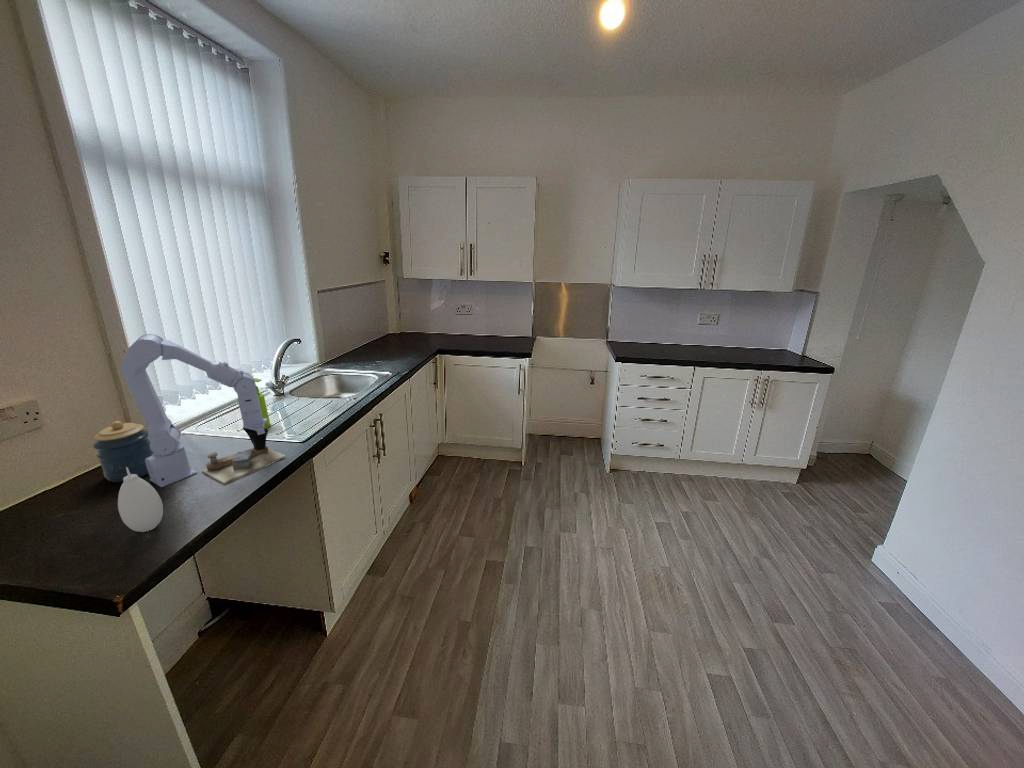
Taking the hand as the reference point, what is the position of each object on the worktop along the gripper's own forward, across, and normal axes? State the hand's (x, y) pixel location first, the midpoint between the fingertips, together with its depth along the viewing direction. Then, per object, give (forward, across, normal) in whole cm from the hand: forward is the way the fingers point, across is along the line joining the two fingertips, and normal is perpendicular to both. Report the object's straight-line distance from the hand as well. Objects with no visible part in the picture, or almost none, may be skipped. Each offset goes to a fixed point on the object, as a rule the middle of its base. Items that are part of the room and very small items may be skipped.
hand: (259, 447), depth 137 cm
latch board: (+3, -3, +6) cm, 7 cm away
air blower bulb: (+3, -22, +32) cm, 38 cm away
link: (+2, 0, +7) cm, 7 cm away
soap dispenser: (+3, +26, -8) cm, 27 cm away
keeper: (+3, -4, +6) cm, 8 cm away
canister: (+3, +18, +31) cm, 37 cm away
